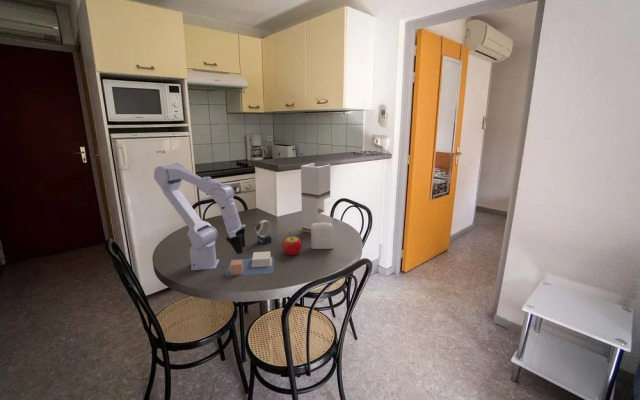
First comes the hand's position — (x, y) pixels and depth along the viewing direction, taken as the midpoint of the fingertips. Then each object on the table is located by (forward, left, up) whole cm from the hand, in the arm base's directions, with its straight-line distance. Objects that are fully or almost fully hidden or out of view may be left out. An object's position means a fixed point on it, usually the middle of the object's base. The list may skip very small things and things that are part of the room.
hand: (241, 250), depth 116 cm
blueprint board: (+3, +3, -9) cm, 10 cm away
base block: (+7, +6, -9) cm, 13 cm away
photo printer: (+34, +18, -10) cm, 40 cm away
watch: (+7, +28, -9) cm, 31 cm away
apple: (+20, +13, -9) cm, 26 cm away
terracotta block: (-2, -1, -9) cm, 9 cm away
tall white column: (+34, +42, -9) cm, 55 cm away
